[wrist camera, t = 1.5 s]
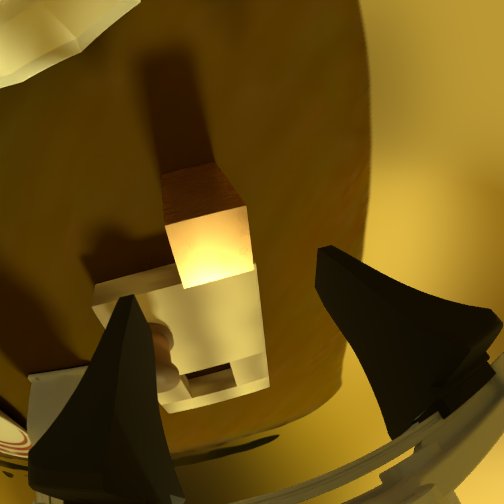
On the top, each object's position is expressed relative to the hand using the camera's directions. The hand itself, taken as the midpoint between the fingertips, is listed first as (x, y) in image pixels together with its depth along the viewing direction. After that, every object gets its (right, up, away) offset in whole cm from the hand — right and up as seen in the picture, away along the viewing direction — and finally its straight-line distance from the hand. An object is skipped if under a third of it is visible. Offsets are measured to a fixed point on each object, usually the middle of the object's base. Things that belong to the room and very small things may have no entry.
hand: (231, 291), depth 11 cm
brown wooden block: (-3, +5, +8) cm, 10 cm away
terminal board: (-5, -7, +15) cm, 17 cm away
